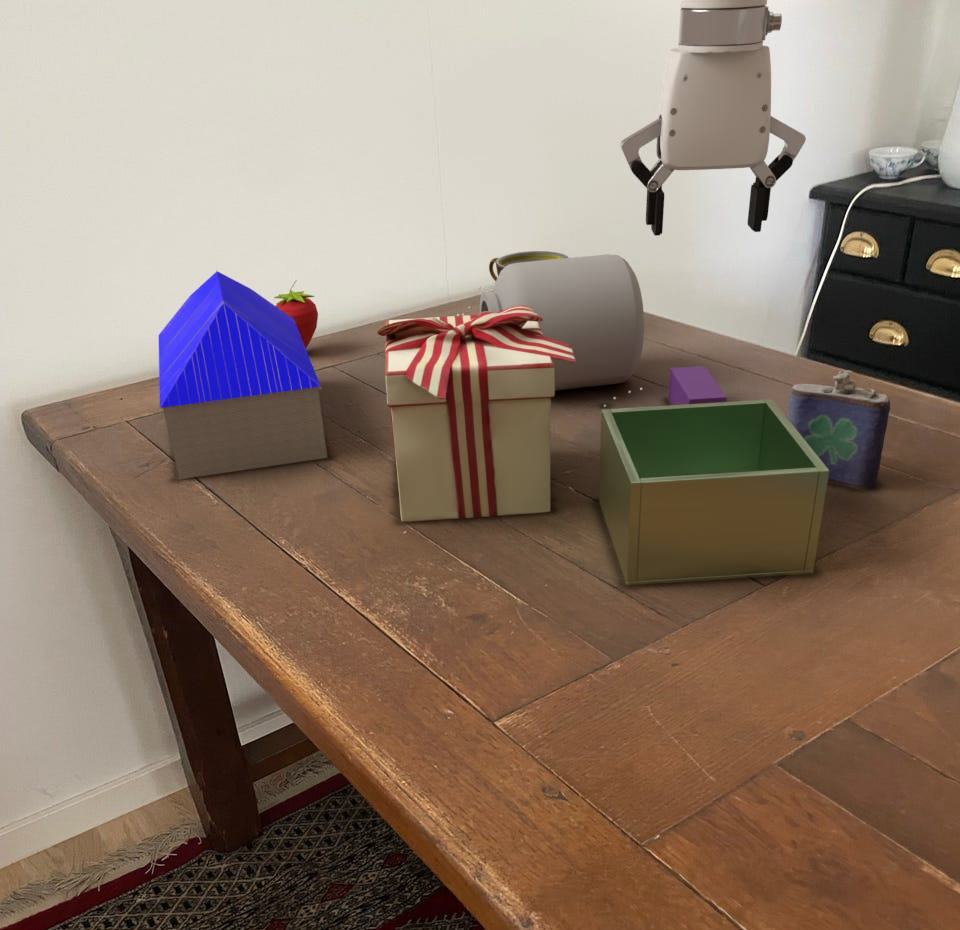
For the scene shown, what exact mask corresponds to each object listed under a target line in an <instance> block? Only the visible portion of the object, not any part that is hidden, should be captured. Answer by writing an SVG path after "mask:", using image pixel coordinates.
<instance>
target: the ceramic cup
mask: <svg viewBox="0 0 960 930" xmlns="http://www.w3.org/2000/svg"><path fill="white" fill-rule="evenodd" d="M563 258H571V257H570V256H569V255H567V254H564V253H561V252H555V251H547V250H529V251H519V252H512V253H508V254H505V255H502V256H500V257H494V258H492V259H491V260H490V261H489V265H488V271H489V274H490V276H491V278H492V279H493V281H494V282H496V280H497V278H498V276H499V274H500V272H501V270H503V269H504V268H505V267H506V266H507V265H509V264H513V263H519V262H530V261H541V260H552V259H563ZM494 265H495V267H496V273H497V275H496V273H495V271H494Z"/></svg>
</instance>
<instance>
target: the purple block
mask: <svg viewBox="0 0 960 930" xmlns="http://www.w3.org/2000/svg"><path fill="white" fill-rule="evenodd" d="M668 378H669V379H668V396H667V400H668V402H669V405H685V404H702V403H718V402H727V396H726V393H724V391H723V390H722V389H721V387H720V385H719V384H718V383H717V382H716V379H714V377H713V376H712V374H711V373H710V371H709V370H708V368H707V367H706V366H705V365H698V366H697V365H696V366H685V367H684V366H681V367H670V368H669V377H668Z"/></svg>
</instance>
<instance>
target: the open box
mask: <svg viewBox="0 0 960 930" xmlns="http://www.w3.org/2000/svg"><path fill="white" fill-rule="evenodd" d="M600 412H601V413H600V447H599V448H600V451H599V492H598V495H599V496H598V497H599V498H598V503H599V506H600V510H601V512H602V515H603V517H604V522H605V524H606V527H607V530H608V533H609V536H610V539H611V542H612V546H613V548H614V551H615V554H616V557H617V560H618V563H619V566H620V569H621V572H622V575H623V578H624V582H625V584H626V586H638V585H640V586H641V585H654V584H656V585H657V584H670V583H685V582H686V583H687V582H700V581H701V582H702V581H715V580H718V581H719V580H732V579H745V578H748V579H749V578H761V577H764V578H765V577H777V576H778V577H779V576H793V575H809V574H811V575H812V574H814V569H815V564H816V558H817V552H818V545H819V538H820V531H821V525H822V521H823V520H822V519H823V513H824V507H825V501H826V495H827V489H828V483H829V482H828V476H829V470H828V468H827V467H826V466H825V465H824V463H823V462H822V461H821V460H820V458H819V457H818V456H817V455H816V453H815V452H814V451H813V450H812V448H811V447H810V446H809V445H808V443H807V442H806V441H805V440H804V438H803V437H802V436H801V435H800V433H799V432H798V431H797V430H796V428H795V427H794V426H793V425H792V424H791V422H790V421H789V420H788V419H787V417H788V416H787V415H785V413H784V412H783V411H782V410H781V409H780V406H778V405H777V403H776V402H775V401H774V399H772V398H767V399H753V400H752V399H751V400H750V399H749V400H737V401H734V400H733V401H726V402H718V403H702V404H685V405H671V404H669V405H654V406H637V407H624V408H623V407H622V408H604V409H601V410H600Z"/></svg>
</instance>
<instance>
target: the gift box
mask: <svg viewBox="0 0 960 930" xmlns="http://www.w3.org/2000/svg"><path fill="white" fill-rule="evenodd" d="M542 320H543V319H542V318H541V317H540V316H539V315H538V314H536V313H535V312H534V311H533V310H532V309H531V308H530V307H528V306H525V305H519V306H513V307H510V308H507V309H505V310H502V311H500V312H497V313H493V312H488V311H487V312H482V313H480V312H479V314H468V315H465V314H464V316H462V315H460V316H457V315H451V316H437V317H436V316H435V317H434V316H431V317H418V318H404V319H401V318H400V319H389V320H386V322H385V325H384V326H382V327H381V328H380V329H378V330H377V332H376V334H377V335H378V336H381V337H385V342H384V361H385V371H384V372H385V377H384V378H385V393H386V403H387V405H386V406H387V407H388V408H389V412H390V420H391V431H392V439H393V449H394V451H393V452H394V459H395V466H396V476H397V478H396V479H397V486H398V487H397V488H398V498H399V510H400V511H399V512H400V521H401V523H415V522H429V521H440V520H441V521H442V520H443V521H444V520H457V519H458V520H463V519H465V520H466V519H472V518H488V517H498V516H512V515H525V514H526V515H527V514H539V513H547V512H551V411H552V409H551V408H552V407H551V400H552V398H555V396H556V395H555V394H556V393H555V392H556V391H555V378H554V364H553V359H558V360H565V361H571V362H576V359H575V357H574V355H573V351H572V349H571V347H570V345H569V344H566V343H563V342H560V341H557V340H554V339H551V338H547V337H544V336H543V334H542V331H541V329H540V326H539V323H538V322H541V321H542Z"/></svg>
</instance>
